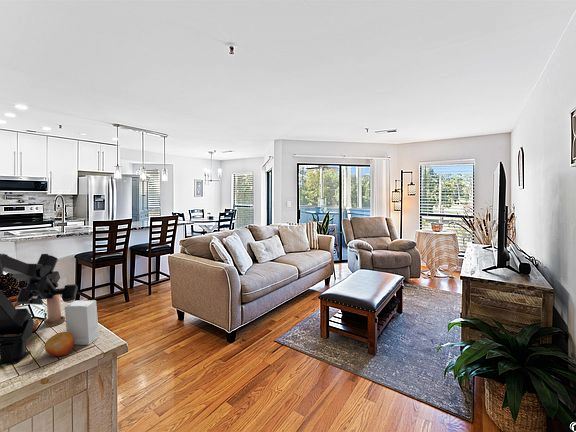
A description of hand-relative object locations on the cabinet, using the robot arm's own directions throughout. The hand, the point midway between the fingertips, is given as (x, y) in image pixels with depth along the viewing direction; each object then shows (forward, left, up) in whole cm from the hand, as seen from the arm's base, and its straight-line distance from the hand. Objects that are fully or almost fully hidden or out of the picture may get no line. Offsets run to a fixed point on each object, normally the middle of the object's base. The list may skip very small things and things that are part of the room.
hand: (55, 302), depth 123 cm
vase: (-1, 0, -7) cm, 8 cm away
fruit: (-26, -17, -8) cm, 32 cm away
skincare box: (-18, -20, -8) cm, 28 cm away
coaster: (-1, 0, -8) cm, 8 cm away
